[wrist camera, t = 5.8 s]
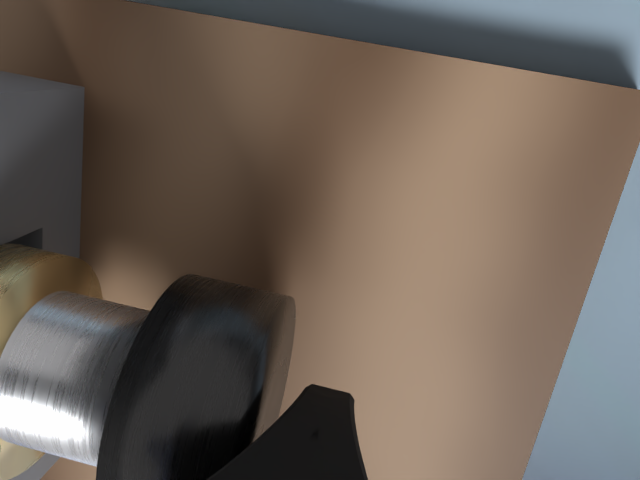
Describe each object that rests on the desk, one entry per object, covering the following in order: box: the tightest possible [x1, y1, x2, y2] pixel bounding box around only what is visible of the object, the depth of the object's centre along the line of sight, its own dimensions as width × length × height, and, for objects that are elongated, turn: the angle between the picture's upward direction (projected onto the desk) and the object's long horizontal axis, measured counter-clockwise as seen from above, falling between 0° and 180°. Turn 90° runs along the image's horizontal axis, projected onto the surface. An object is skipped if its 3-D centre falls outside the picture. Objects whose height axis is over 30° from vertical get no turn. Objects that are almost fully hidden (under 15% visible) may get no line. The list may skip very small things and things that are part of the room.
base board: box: [0, 0, 640, 480], centre depth 15 cm, size 26×14×1 cm, turn 81°
